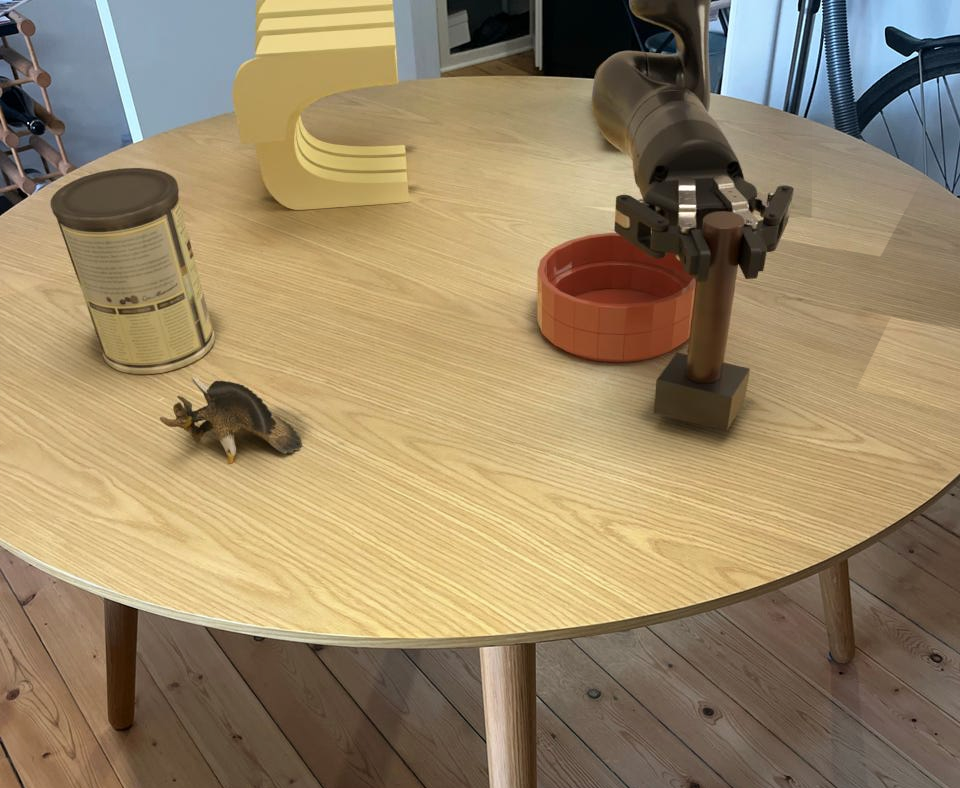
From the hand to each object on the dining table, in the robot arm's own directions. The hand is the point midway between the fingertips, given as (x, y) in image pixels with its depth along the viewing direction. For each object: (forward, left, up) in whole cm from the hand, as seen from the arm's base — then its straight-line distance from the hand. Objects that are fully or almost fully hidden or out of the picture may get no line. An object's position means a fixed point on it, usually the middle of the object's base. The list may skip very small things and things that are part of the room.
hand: (729, 266), depth 69 cm
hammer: (+2, -2, -13) cm, 13 cm away
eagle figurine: (+33, +16, -15) cm, 40 cm away
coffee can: (+50, +6, -15) cm, 53 cm away
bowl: (+13, -14, -14) cm, 24 cm away
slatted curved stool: (+55, -32, -15) cm, 66 cm away
